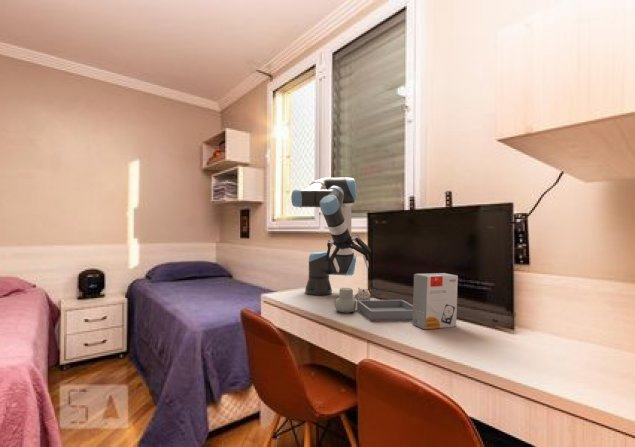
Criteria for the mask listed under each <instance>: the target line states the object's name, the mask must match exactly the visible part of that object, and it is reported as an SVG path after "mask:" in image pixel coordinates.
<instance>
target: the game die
mask: <svg viewBox="0 0 635 447" xmlns="http://www.w3.org/2000/svg"><path fill="white" fill-rule="evenodd" d="M357 288H358V291H357V292H356V294H355V295H354V297H355V298H356V301H360V300H372V299H373V295H372V294H371V293H370V287H368V289H367V288H366V289H365V288H360V287H357Z"/></svg>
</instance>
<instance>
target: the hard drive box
mask: <svg viewBox="0 0 635 447" xmlns="http://www.w3.org/2000/svg"><path fill="white" fill-rule="evenodd" d="M458 278H459V276H458V275H457V274H450V273H446V272H442V273H441V272H439V273H438V272H436V273H435V272H433V273H431V272H430V273H414V274H413V296H412V297H413V298H412V299H413V300H412V305H413V320H412V322H411V323H412V325H413V326H416V327H418V328H420V329H423V330H434V329H442V328H453V327H454V326H455V327H457V314H458V313H457V310H458V282H459V280H458Z"/></svg>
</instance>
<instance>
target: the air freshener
mask: <svg viewBox="0 0 635 447" xmlns="http://www.w3.org/2000/svg"><path fill="white" fill-rule="evenodd" d="M353 290H354V289H353V288H350V287H341V288H339V296H338V297H337V298H336V300H335V302H334V303H335V304H334V308H335V310H336V311H338V312H340V313H344V314H345V313H350V314H351V313H353V312H354V311H355V310H357V299H355V298H354V297H353V296H354V295H353V294H354V291H353Z"/></svg>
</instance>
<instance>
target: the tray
mask: <svg viewBox="0 0 635 447" xmlns="http://www.w3.org/2000/svg"><path fill="white" fill-rule="evenodd" d="M356 310H357V311H358V312H359V313H360V314H362V315H363V316H364V317H365V318H366V319H367V320H369V321H370V322H397V321H398V322H400V321H401V322H403V321H413V304H411V303H410V302H408V301H405V300H404V299H373V300H372V299H370V300H360V301H358V300H356Z"/></svg>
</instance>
